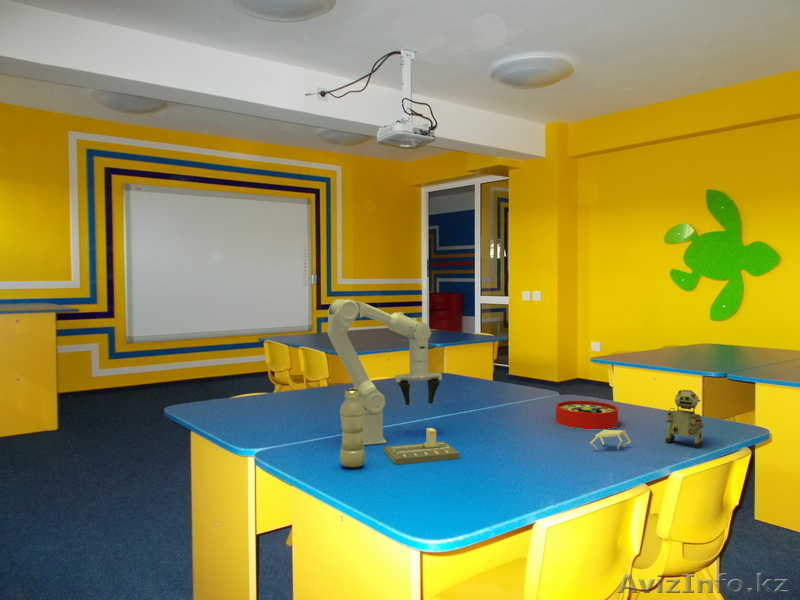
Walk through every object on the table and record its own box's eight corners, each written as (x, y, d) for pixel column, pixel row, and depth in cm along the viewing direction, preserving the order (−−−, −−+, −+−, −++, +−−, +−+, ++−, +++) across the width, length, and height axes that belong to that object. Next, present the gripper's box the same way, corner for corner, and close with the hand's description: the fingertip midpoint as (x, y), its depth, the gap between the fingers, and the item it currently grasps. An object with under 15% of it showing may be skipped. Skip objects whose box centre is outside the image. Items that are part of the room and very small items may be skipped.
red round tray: (543, 403, 198) (589, 398, 206) (543, 420, 198) (589, 414, 206) (583, 415, 180) (631, 409, 188) (583, 434, 180) (631, 427, 188)
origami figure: (606, 442, 170) (606, 425, 170) (632, 448, 164) (632, 431, 164) (581, 449, 163) (581, 432, 163) (608, 456, 156) (608, 438, 156)
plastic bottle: (352, 461, 154) (351, 386, 153) (370, 466, 149) (370, 389, 149) (334, 467, 149) (333, 390, 148) (353, 472, 144) (352, 393, 144)
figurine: (708, 441, 170) (709, 391, 169) (696, 450, 161) (696, 396, 161) (676, 436, 176) (676, 387, 176) (662, 443, 168) (663, 392, 167)
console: (395, 464, 150) (395, 456, 150) (384, 452, 162) (383, 444, 162) (459, 458, 155) (459, 450, 155) (444, 446, 167) (443, 439, 167)
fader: (426, 451, 157) (426, 431, 157) (422, 447, 160) (422, 428, 160) (440, 450, 158) (440, 430, 158) (436, 446, 161) (436, 427, 161)
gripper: (399, 363, 173) (400, 407, 173) (445, 360, 177) (445, 404, 177) (393, 360, 180) (394, 403, 180) (437, 358, 184) (437, 400, 184)
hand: (419, 403), depth 179 cm, fingers open, 7 cm apart
